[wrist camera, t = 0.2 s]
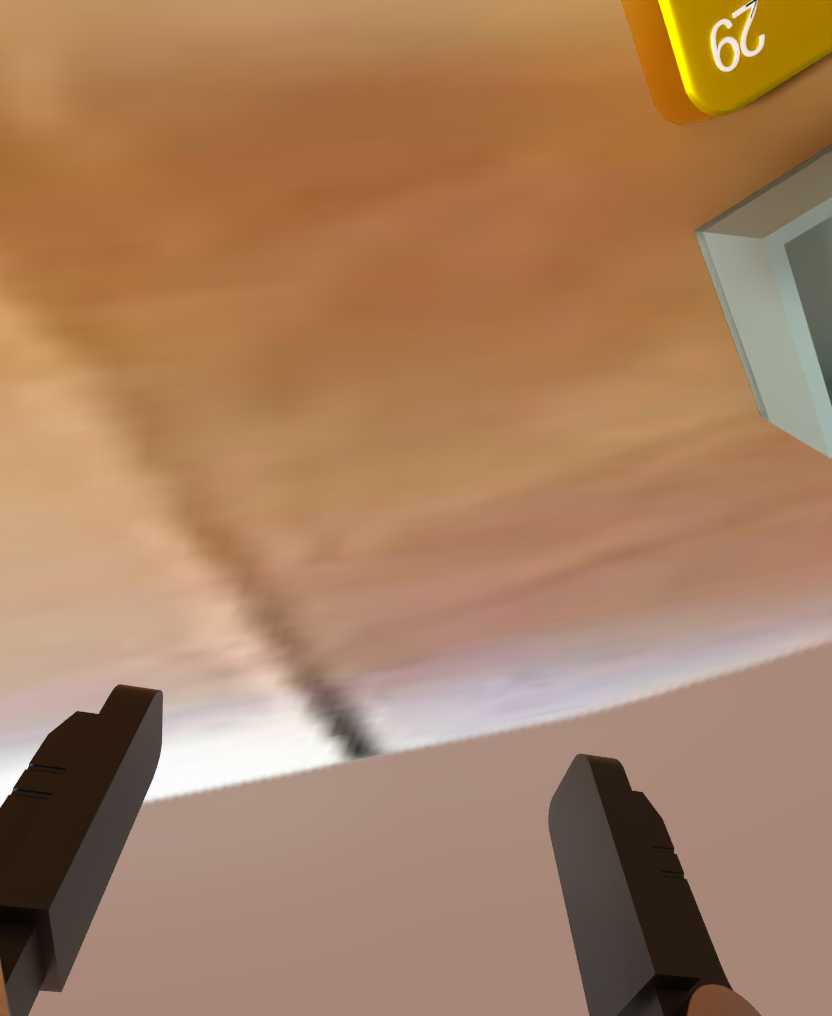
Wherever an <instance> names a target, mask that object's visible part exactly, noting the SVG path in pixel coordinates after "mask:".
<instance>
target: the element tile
mask: <svg viewBox="0 0 832 1016" xmlns="http://www.w3.org/2000/svg"><path fill="white" fill-rule="evenodd" d="M621 2H622V5H623V8H624V11H625V14H626V18H627V21H628V24H629V27H630V30H631V33H632V36H633V40H634V43H635V46H636V49H637V52H638V55H639V58H640V61H641V65H642V68H643V71H644V74H645V77H646V80H647V83H648V87H649V90H650V93H651V96H652V99H653V102H654V105H655V106H656V108H657V110H658V111H659V112H660V113H661V114H662V115H663V117H664V118H665V119H666V120H667V121H669V122H672V123H675V124H678V125H684V124H691V123H696V122H700V121H704V120H708V119H712V118H716V117H720V116H724V115H728V114H730V113H733V112H735V111H737V110H740V109H741V108H743V107H744V106H746V105H748V104H749V103H751V102H752V101H754V100H756V99H757V98H759V97H760V96H762V95H764V94H765V93H767V92H768V91H770V90H772V89H773V88H775V87H776V86H778V85H780V84H781V83H783V82H784V81H786V80H788V79H789V78H791V77H792V76H794V75H796V74H797V73H799V72H800V71H802V70H804V69H805V68H807V67H808V66H810V65H812V64H813V63H815V62H816V61H818V60H820V59H821V58H823V57H824V56H826V55H828V54H829V53H831V52H832V0H621Z"/></svg>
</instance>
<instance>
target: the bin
mask: <svg viewBox="0 0 832 1016" xmlns="http://www.w3.org/2000/svg"><path fill="white" fill-rule="evenodd" d="M695 234H696V237H697V240H698V242H699V245H700V248H701V251H702V253H703V256H704V259H705V262H706V264H707V267H708V270H709V273H710V275H711V278H712V281H713V284H714V287H715V289H716V292H717V295H718V298H719V300H720V303H721V306H722V309H723V311H724V314H725V317H726V320H727V322H728V325H729V328H730V331H731V334H732V336H733V339H734V342H735V345H736V347H737V350H738V353H739V356H740V358H741V361H742V364H743V367H744V369H745V372H746V375H747V378H748V381H749V383H750V386H751V389H752V392H753V394H754V397H755V400H756V403H757V405H758V408H759V411H760V414H761V416H762V418H764V419H765V420H767V421H769V422H770V423H772V424H774V425H775V426H777V427H779V428H780V429H782V430H784V431H785V432H787V433H789V434H790V435H792V436H794V437H795V438H797V439H799V440H800V441H802V442H804V443H805V444H807V445H809V446H811V447H812V448H814V449H816V450H817V451H819V452H821V453H822V454H824V455H826V456H827V457H829V458H832V145H830V146H829V147H827V148H825V149H824V150H822V151H821V152H819V153H817V154H816V155H814V156H813V157H811V158H810V159H808V160H806V161H805V162H803V163H802V164H800V165H798V166H797V167H795V168H794V169H792V170H791V171H789V172H787V173H786V174H784V175H783V176H781V177H779V178H778V179H776V180H775V181H773V182H772V183H770V184H768V185H767V186H765V187H764V188H762V189H760V190H759V191H757V192H756V193H754V194H752V195H751V196H749V197H748V198H746V199H745V200H743V201H741V202H740V203H738V204H737V205H735V206H733V207H732V208H730V209H729V210H727V211H726V212H724V213H722V214H721V215H719V216H718V217H716V218H714V219H713V220H711V221H710V222H708V223H707V224H705V225H703V226H702V227H700V228H699V229H697V230H695Z"/></svg>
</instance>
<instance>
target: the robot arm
mask: <svg viewBox="0 0 832 1016" xmlns="http://www.w3.org/2000/svg"><path fill="white" fill-rule="evenodd" d="M162 710H163V694H162V691H161V690H155V689H148V688H141V687H134V686H127V685H121V684H120V685H117V686H116V687H115V688H114V689H113V691H112V692H111V694H110V695H109V697H108V699H107V701H106V702H105V704H104V706H103V707H102V709H101V711H100V713H99V714H94V713H87V712H80V711H77V712H75V713H74V714H73V715H72V716H70V717H69V718H68V719H67V720H65V721H64V722H63V723H62V724H61V725H59V726H58V727H57V728H56V729H54V730H53V731H52V732H51V733H49V734H48V736H47V737H46V739H45V740H44V742H43V743H42V745H41V746H40V748H39V749H38V751H37V752H36V754H35V756H34V757H33V759H32V760H31V762H30V763H29V767H28V769H27V770H25V771H24V772H23V774H22V775H21V777H20V779H19V780H18V782H17V783H16V785H15V786H14V788H13V792H12V793H11V795H8V797H7V798H6V800H5V802H4V803H3V805H2V806H1V808H0V1016H28V1014H29V1012H30V1010H31V1008H32V1005H33V1003H34V1001H35V999H36V997H37V995H38V992H39V990H42V991H53V992H62V989H63V987H64V985H65V983H66V980H67V978H68V976H69V973H70V971H71V969H72V966H73V964H74V962H75V959H76V957H77V954H78V952H79V950H80V947H81V945H82V943H83V941H84V938H85V935H86V934H87V931H88V929H89V926H90V924H91V921H92V920H93V917H94V915H95V913H96V910H97V908H98V905H99V903H100V901H101V898H102V896H103V894H104V891H105V889H106V887H107V885H108V882H109V880H110V878H111V875H112V873H113V871H114V868H115V866H116V863H117V861H118V859H119V856H120V854H121V852H122V849H123V847H124V845H125V842H126V840H127V838H128V835H129V833H130V831H131V828H132V826H133V824H134V821H135V819H136V817H137V814H138V812H139V809H140V807H141V805H142V803H143V800H144V798H145V796H146V793H147V791H148V789H149V786H150V784H151V782H152V779H153V777H154V774H155V771H156V768H157V765H158V761H159V757H160V752H161V746H162ZM549 831H550V837H551V841H552V846H553V850H554V855H555V859H556V864H557V869H558V873H559V877H560V882H561V887H562V892H563V896H564V901H565V905H566V910H567V914H568V918H569V923H570V928H571V933H572V937H573V942H574V946H575V950H576V956H577V960H578V965H579V969H580V974H581V979H582V983H583V988H584V992H585V997H586V1002H587V1006H588V1011H589V1015H590V1016H761V1015H760V1014H759V1012H758V1011H757V1010H756V1009H755V1008H754V1007H753V1006H752V1005H751V1004H750V1003H749V1002H748V1001H747V1000H745V999H744V998H743V997H742V996H740V995H739V994H737V993H736V992H734V991H733V989H732V988H731V986H730V984H729V982H728V980H727V978H726V976H725V974H724V971H723V969H722V967H721V964H720V961H719V959H718V956H717V954H716V951H715V949H714V946H713V944H712V941H711V939H710V936H709V934H708V931H707V929H706V926H705V924H704V922H703V919H702V916H701V914H700V911H699V909H698V906H697V904H696V901H695V899H694V896H693V894H692V892H691V889H690V886H689V884H688V882H687V879H684V871H683V869H682V866H681V864H680V862H679V859H678V857H677V854H674V846H673V844H672V842H671V839H670V836H669V834H668V832H667V829H666V826H665V824H664V822H663V819H662V818H661V816H660V815H659V814H658V812H657V811H656V810H655V808H654V807H653V806H652V804H651V803H650V802H649V800H648V799H647V798H646V796H645V795H644V794H643V792H638V791H632V789H631V787H630V785H629V781H628V779H627V776H626V773H625V770H624V768H623V766H622V764H621V763H620V762H619V761H618V760H617V759H613V758H607V757H600V756H593V755H585V754H579V755H577V756H576V757H575V758H574V760H573V761H572V763H571V765H570V767H569V769H568V770H567V773H566V774H565V776H564V778H563V779H562V781H561V783H560V785H559V787H558V789H557V790H556V792H555V794H554V796H553V798H552V800H551V803H550V808H549Z"/></svg>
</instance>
